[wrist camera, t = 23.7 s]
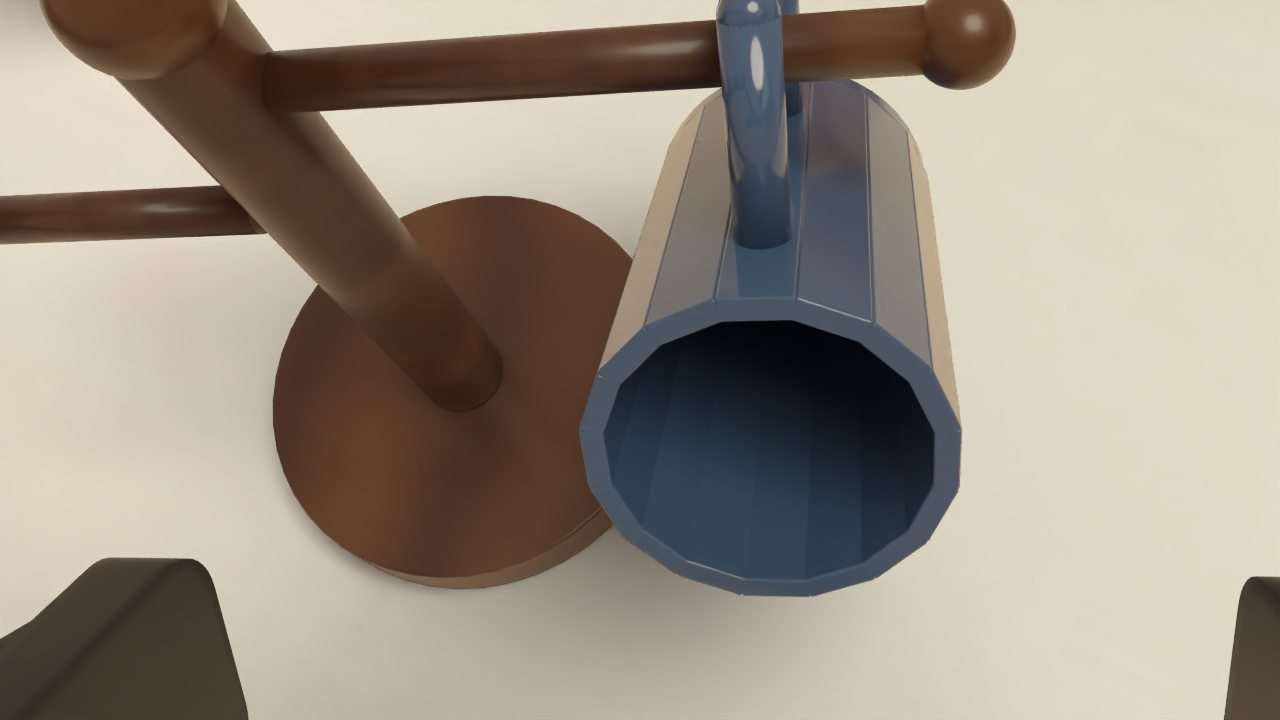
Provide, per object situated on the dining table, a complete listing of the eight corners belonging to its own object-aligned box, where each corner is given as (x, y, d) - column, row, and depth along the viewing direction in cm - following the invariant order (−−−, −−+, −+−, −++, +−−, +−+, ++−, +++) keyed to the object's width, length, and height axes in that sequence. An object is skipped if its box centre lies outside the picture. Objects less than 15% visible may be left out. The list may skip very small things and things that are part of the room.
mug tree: (155, 582, 32) (-604, 306, 16) (229, 231, 36) (-308, -284, 20) (961, 600, 28) (1094, 252, 12) (941, 202, 32) (1021, -475, 16)
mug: (923, 304, 27) (954, 601, 19) (675, 310, 28) (606, 594, 20) (932, -145, 22) (980, 9, 14) (625, -116, 23) (508, 41, 15)
